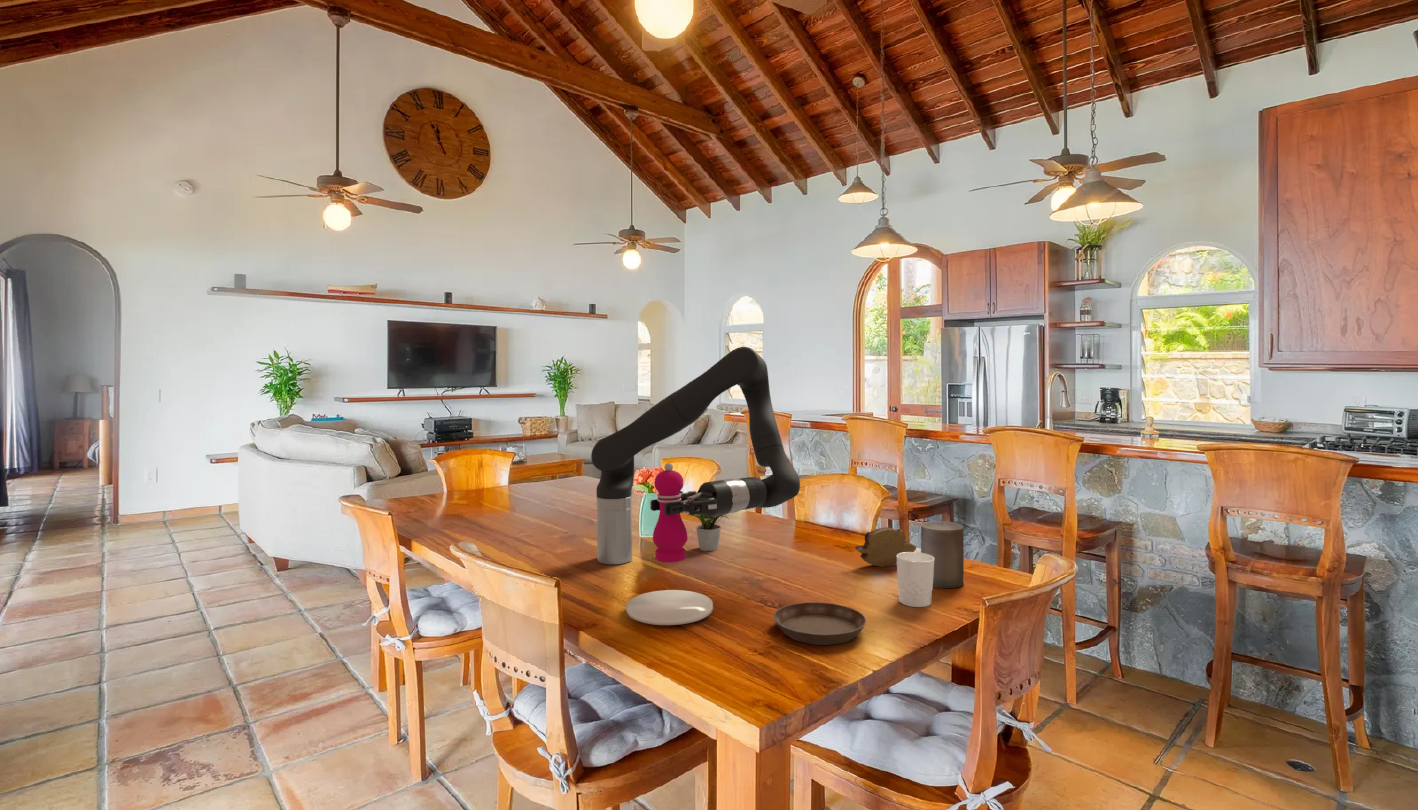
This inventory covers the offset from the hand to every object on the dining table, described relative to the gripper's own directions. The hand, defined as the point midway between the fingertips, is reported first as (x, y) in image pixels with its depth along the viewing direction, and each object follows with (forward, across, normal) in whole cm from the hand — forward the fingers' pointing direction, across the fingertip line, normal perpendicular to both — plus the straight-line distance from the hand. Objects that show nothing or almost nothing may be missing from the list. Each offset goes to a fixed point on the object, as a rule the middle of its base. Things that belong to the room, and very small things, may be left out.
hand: (658, 507), depth 137 cm
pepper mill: (-3, 0, +11) cm, 12 cm away
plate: (-2, 0, +22) cm, 23 cm away
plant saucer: (-20, +26, +23) cm, 40 cm away
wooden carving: (-65, +6, +24) cm, 69 cm away
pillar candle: (-65, +22, +24) cm, 72 cm away
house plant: (-38, -34, +23) cm, 56 cm away
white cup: (-48, +27, +23) cm, 60 cm away
